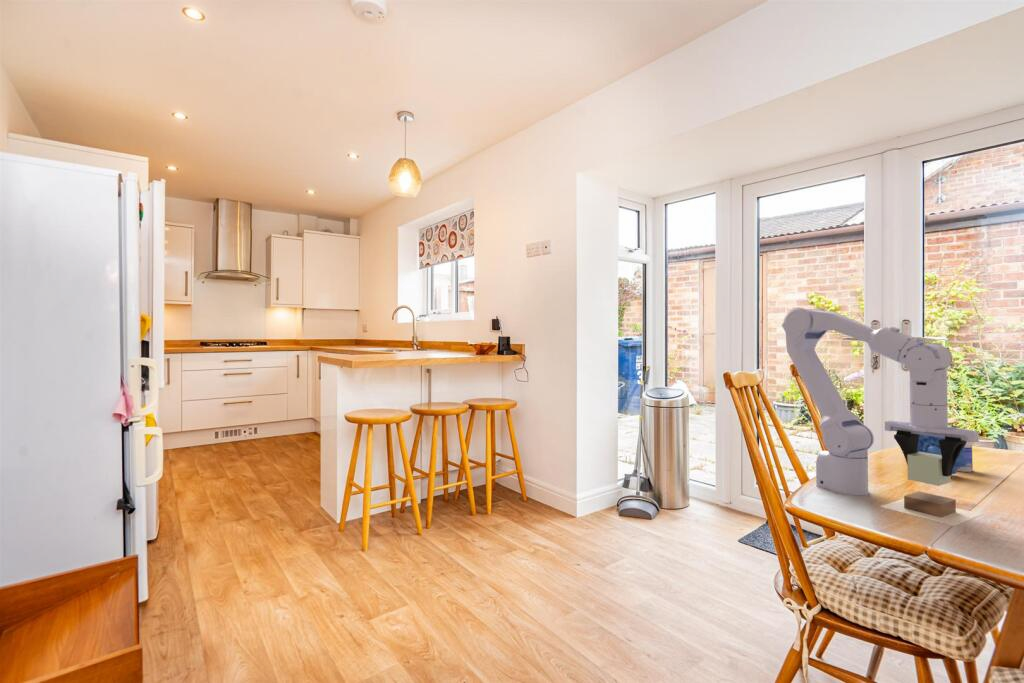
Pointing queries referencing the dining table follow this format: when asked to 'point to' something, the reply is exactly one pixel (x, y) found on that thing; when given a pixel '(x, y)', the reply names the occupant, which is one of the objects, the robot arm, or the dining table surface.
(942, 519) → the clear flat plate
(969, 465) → the pill bottle
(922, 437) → the blue flower
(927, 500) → the walnut base block
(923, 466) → the sage block
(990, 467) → the dining table surface
